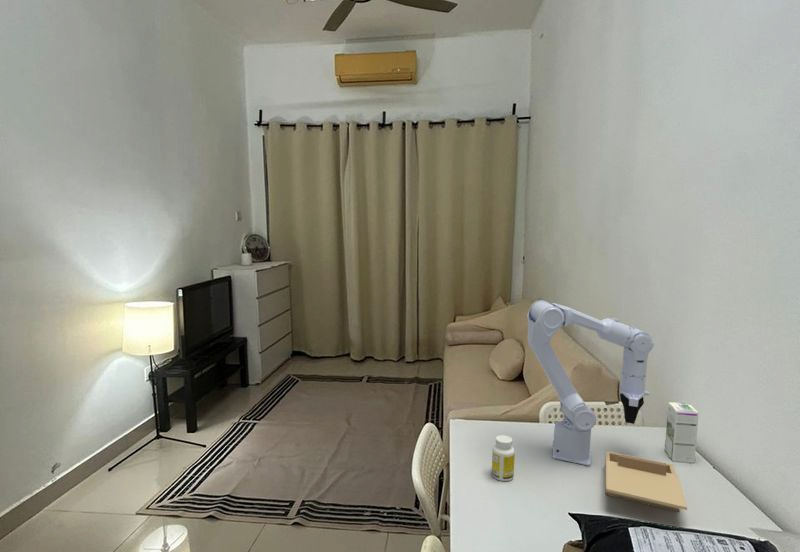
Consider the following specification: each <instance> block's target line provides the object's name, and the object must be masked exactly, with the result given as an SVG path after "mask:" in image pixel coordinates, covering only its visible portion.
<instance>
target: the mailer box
mask: <svg viewBox="0 0 800 552" xmlns="http://www.w3.org/2000/svg"><path fill="white" fill-rule="evenodd" d="M619 454H621V455H626V456H631V457H636V458H641V459H646V460H651V461H656V462H661V463H666V462H663V461H659V460H658V461H657V460H653V459H647V458H643V457H639V456H632V455H628V454H624V453H623V454H622V453H617V452H614V451H610V450H608V451H607V450H606V451H605V461H604V462H605V463H604V494H605V496H606V495H607V496H610V497H614V498H618V499H621V500H622V499H623V500H627V501H631V502H636V503H640V504H643V503H644V505H648V504H649V505H648V506H652V505H653V506H652V507H658V508H660V509H661V508H662V509H666V510H669V511H674V512H678V513H680V508H676V507H671V506H667V505H663V504H658V503H654V502H650V501H646V500H641V499H637V498H633V497H628V496H624V495H620V494H616V493H611V492H607V491H606V460H608V461H613V462H618V455H619ZM666 465H667V468H666V473H671V474H675V475H677V474H676V471H675V467H674V464H673V463H668V462H667V463H666Z"/></svg>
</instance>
